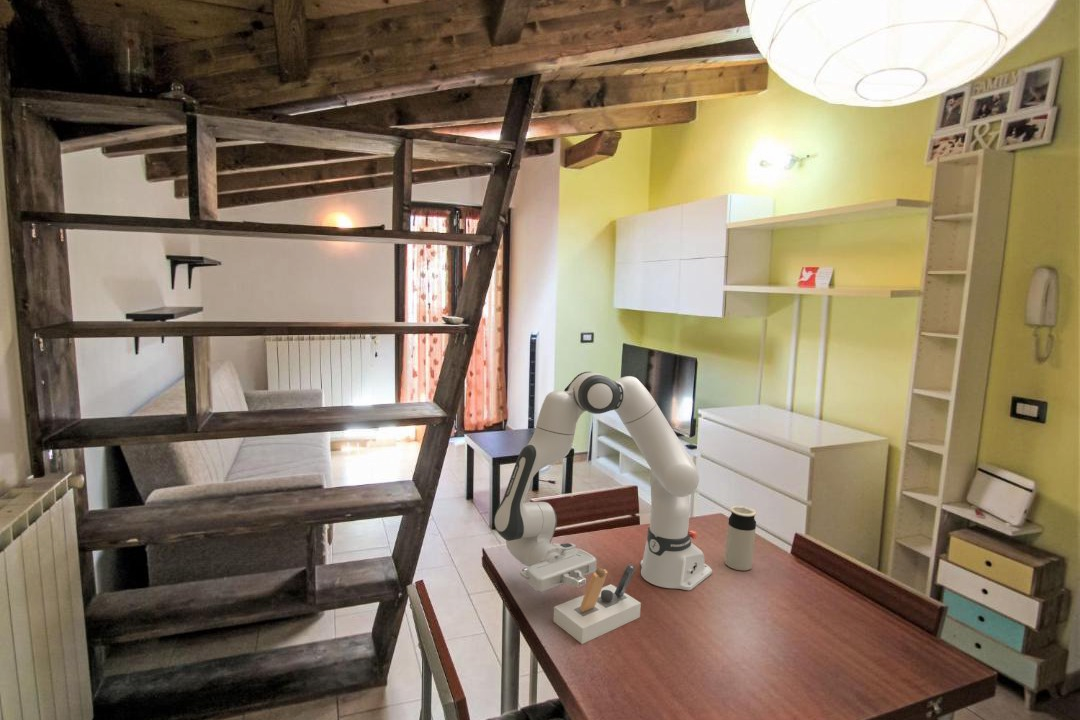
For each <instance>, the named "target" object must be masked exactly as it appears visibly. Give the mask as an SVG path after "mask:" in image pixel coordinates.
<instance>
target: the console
mask: <svg viewBox="0 0 1080 720" xmlns="http://www.w3.org/2000/svg"><path fill="white" fill-rule="evenodd" d="M616 589H617V586H615V585H613V584H611V583H610V584H608V585H605V586H602V589H601V592H602V591H603V590H609V591H611V592H612V593H613V599H612V600H611V601H604V600H602V599H601V592H600V594H599V597H598V599H597V602H596V604H595V607H594V608H592V609H589V610H587V611H585V612H582V611H581V610H580V606H581V604H582V601H583V598H584V596H585V594H584V595H580V596H578V597H575V598H572V599H569V600H568V601H565V602H562V603H560V604H557V605H555V606H553V622H554V623H555V624H556V625H557V626H559V627H560V628H561V629H563V630H564V631H565V632H566V633H567V634H569V635H570V636H571V637H573V639H575V640H577V642H578V643H580V644H581V645H583V644H585V643H588V642H590V641H592V640H593V639H596V638H598V637H601V636H602V635H605V634H606V633H609V632H611V631H613V630H615V629H618V628H620V627H622V626H625V625H626V624H628V623H630V622H633V621H635V620H637V619H639V618H641V607H642V606H641V605H642V602H640V601H638V600H637V599H636V598H634V597H633V596H631V595H629V594H628V593H626V592H624V594H623V596H622V597H619V598H618V597H617V596H616V594H615V591H616Z"/></svg>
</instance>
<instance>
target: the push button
mask: <svg viewBox="0 0 1080 720" xmlns="http://www.w3.org/2000/svg"><path fill="white" fill-rule="evenodd" d="M601 599H602V600H604V601H611V600H612V599H613V593H612V592H611V591H609V590H603V591H602V592H601Z"/></svg>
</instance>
